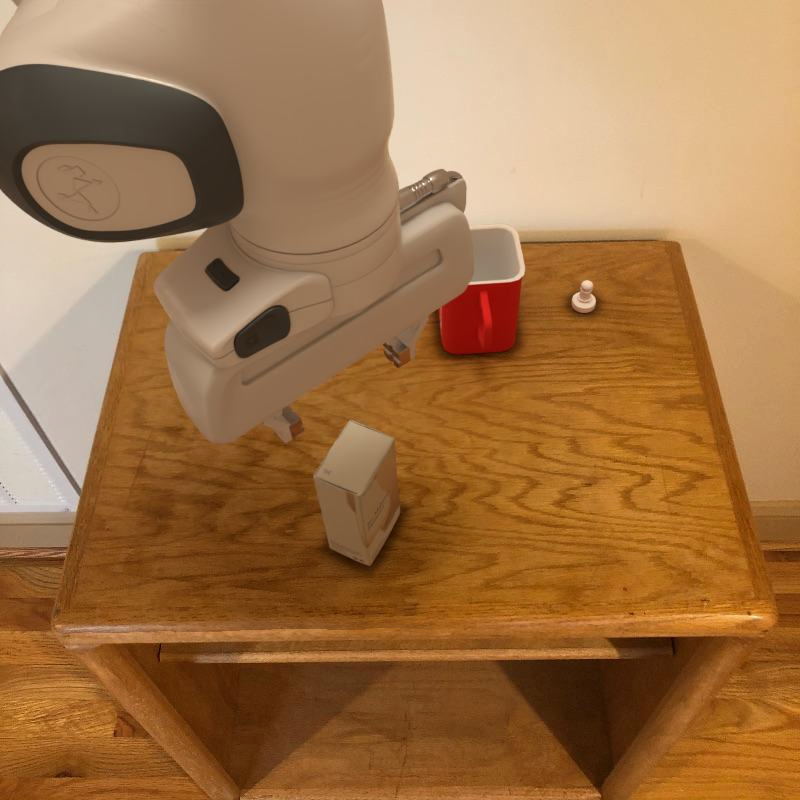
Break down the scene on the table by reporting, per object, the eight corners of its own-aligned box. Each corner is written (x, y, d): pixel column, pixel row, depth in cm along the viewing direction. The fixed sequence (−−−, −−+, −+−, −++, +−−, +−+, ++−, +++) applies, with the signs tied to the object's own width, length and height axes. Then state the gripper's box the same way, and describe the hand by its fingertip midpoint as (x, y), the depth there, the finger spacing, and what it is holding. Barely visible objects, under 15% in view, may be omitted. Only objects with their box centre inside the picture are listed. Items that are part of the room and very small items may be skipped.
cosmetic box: (370, 568, 69) (358, 500, 59) (328, 549, 70) (309, 479, 60) (403, 510, 72) (396, 436, 62) (362, 492, 73) (349, 417, 63)
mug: (435, 301, 87) (434, 228, 79) (509, 296, 87) (516, 222, 79) (444, 386, 80) (443, 315, 72) (524, 380, 80) (533, 309, 72)
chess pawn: (566, 301, 86) (570, 278, 84) (586, 293, 87) (590, 270, 84) (579, 316, 85) (584, 294, 82) (599, 308, 86) (604, 285, 83)
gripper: (429, 132, 47) (432, 294, 58) (123, 297, 40) (193, 445, 51) (502, 182, 44) (490, 342, 55) (185, 370, 37) (245, 510, 48)
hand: (346, 393), depth 53 cm, fingers open, 8 cm apart
